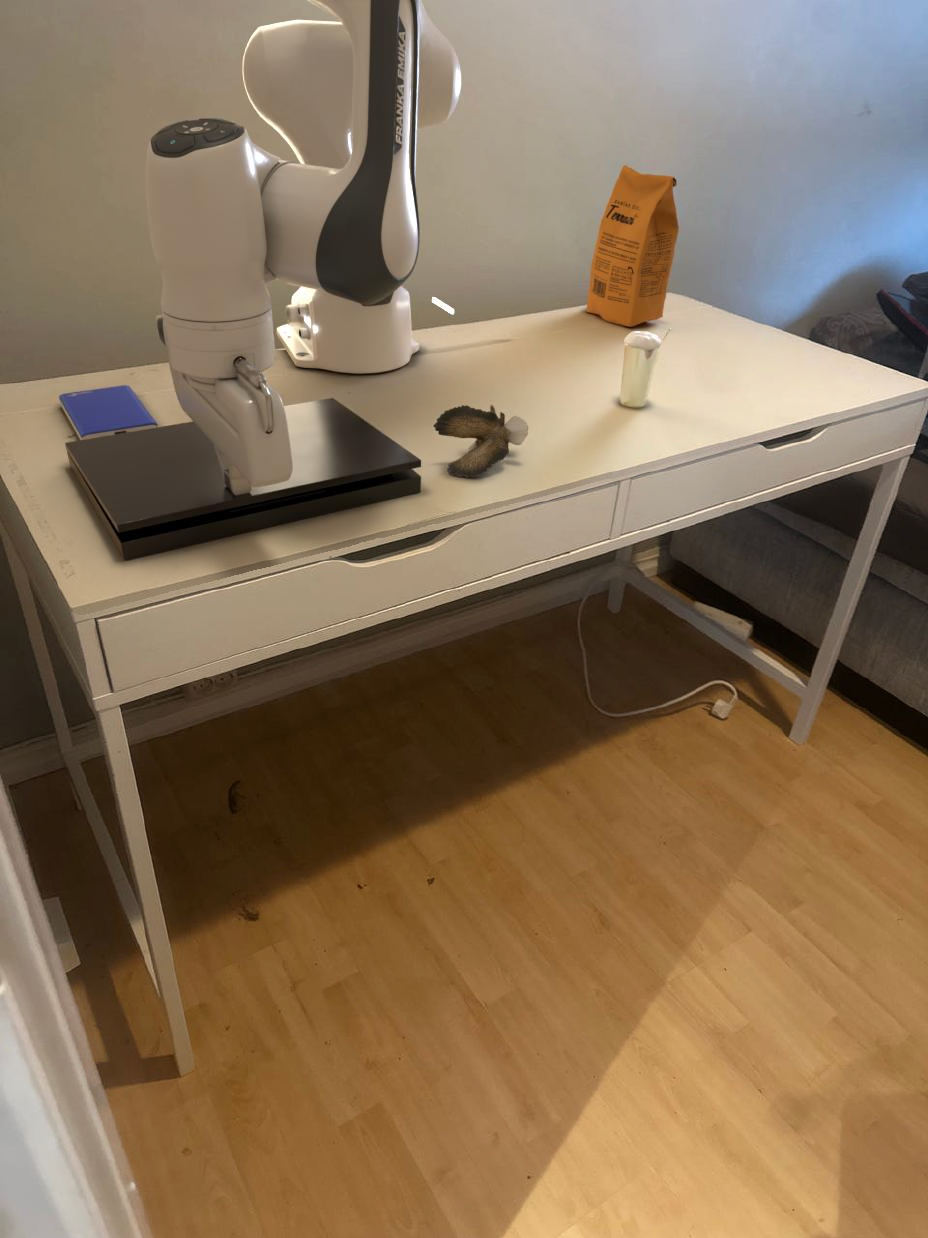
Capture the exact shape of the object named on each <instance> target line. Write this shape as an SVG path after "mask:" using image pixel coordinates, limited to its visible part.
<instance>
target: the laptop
mask: <svg viewBox="0 0 928 1238" xmlns="http://www.w3.org/2000/svg"><path fill="white" fill-rule="evenodd" d="M66 453H67V454H66V455H67V457H68V463H69V467H70V469H71V471H72V472H73V474H74V476H75V478H76V479H77V481H78V483H79V484H80V487H81V488H82V490H83V492H84V493H85V495H86V497H87V498H88V500H89V502H90V503H91V505H92V507H93V509H94V511H95V512H96V514H97V516H98V517H99V519H100V521H101V523H102V525H103V526H104V528H105V530H106V531H107V534H108V535H109V537H110V538H111V540H112V542H113V544H114V546H115V547H116V549H117V551H118V552H119V554H120V556H121V558H122V559H123V561H129V560H130V561H131V560H133V559H139V558H142V557H146V556H151V555H155V554H159V553H164V552H167V551H172V550H177V549H181V548H185V547H189V546H194V545H199V544H203V543H207V542H212V541H215V540H220V539H225V538H228V537H233V536H238V535H241V534H246V533H249V532H253V531H259V530H262V529H268V528H272V527H276V526H280V525H284V524H288V523H293V522H297V521H302V520H305V519H310V518H314V517H319V516H324V515H328V514H332V513H336V512H340V511H345V510H349V509H353V508H357V507H358V508H359V507H362V506H366V505H370V504H375V503H379V502H383V501H389V500H392V499H396V498H401V497H405V496H409V495H410V496H411V495H414V494H417V493H421V489H422V475H420V474H418V473H417V472H416V471H415V470H414V469H410V470H405V471H401V472H396V473H391V474H387V475H382V476H378V477H373V478H368V479H364V480H359V481H355V482H350V483H345V484H341V485H336V486H332V487H327V488H322V489H318V490H313V491H309V492H304V493H299V494H295V495H290V496H286V497H281V498H276V499H272V500H267V501H263V502H258V503H253V504H249V505H244V506H240V507H235V508H230V509H226V510H221V511H217V512H212V513H207V514H203V515H198V516H194V517H189V518H184V519H180V520H175V521H171V522H166V523H161V524H157V525H152V526H147V527H143V528H138V529H134V530H129V531H124V532H120V533H119V532H118V531H117V529H116V527H115V526H114V524H113V523H112V521H111V519H110V518H109V516H108V515H107V513H106V512H105V510H104V508H103V507H102V505H101V504H100V502H99V500H98V499H97V497H96V496H95V494H94V493H93V491H92V489H91V488H90V486H89V485H88V483H87V481H86V480H85V478H84V477H83V475H82V473H81V472H80V470H79V469H78V467H77V466H76V464H75V462H74V461H73V459H72V458H71V456H70V454H69V453H68V451H67V450H66Z"/></svg>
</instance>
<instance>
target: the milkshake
mask: <svg viewBox="0 0 928 1238" xmlns="http://www.w3.org/2000/svg"><path fill="white" fill-rule="evenodd" d="M671 330H672V328H669V330H668V331H667V333H666V334H665V336H664V337H663V339H662V340H661V339H660V338H659V336H658V335H656V334H654V333H652V332H649V331H647V330H645V331H644V330H643V331H641V330H640V331H639V330H634V331H631V332H630V333H628V334H627V335H626V336H625V338H624V344H623V360H622V372H621V385H620V395H619V402H620V403H621V405H623V406H625V407H628V408H634V409H637V408H643V407H644V406H645V405H646V404H647V401H648V397H649V393H650V392H649V391H650V388H651V385H652V380H653V376H654V372H655V368H656V364H657V361H658V357H659V354H660V350H661V347H662V345H663V342H664V340H665V339H666V338H667V336H668V334H669V333H670V331H671Z"/></svg>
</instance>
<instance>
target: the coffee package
mask: <svg viewBox="0 0 928 1238" xmlns="http://www.w3.org/2000/svg"><path fill="white" fill-rule="evenodd" d="M677 182H678V181H677V178H676V177H675V176H674V175H665V174H663V175H661V174H649V173H646V174H645V173H644V174H643V173H640V172H638V171H637V170H636V169H634V168H632V167H630V166H628V165H627V164H626V165H623V166H622V167H621V170H620V172H619V174H618V178H617V179H616V180H615V184H614V186H613V188H612V191H611V194H610V197H609V198H608V202H607V204H606V206H605V210H604V212H603V216H602V218H601V221H600V224H599V227H598V228H599V229H598V233H597V237H596V243H595V247H594V252H593V256H592V260H591V265H590V275H589V286H588V287H589V288H588V294H587V295H588V296H587V303H586V309H585V311H586V313H591V314H594V315H599V316H600V317H601V318H602V319H603V320H604V321H605V322H608V323H611V324H615V325H616V324H617V325H619V326H624V327H629V328H631V327H635V326H637V325H640V324H642V323H645V322H651V321H657V320H659V319H661V318H663V316H664V309H665V303H666V302H665V301H666V298H667V292H668V291H667V290H668V285H669V281H670V278H671V269H672V267H673V261H674V256H675V248H676V244H677V239H678V235H679V231H680V230H679V229H680V226H679V219H678V214H677V213H678V212H677V207H676V203H675V198H674V188H675V187H676V186H677V185H678V183H677Z"/></svg>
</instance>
